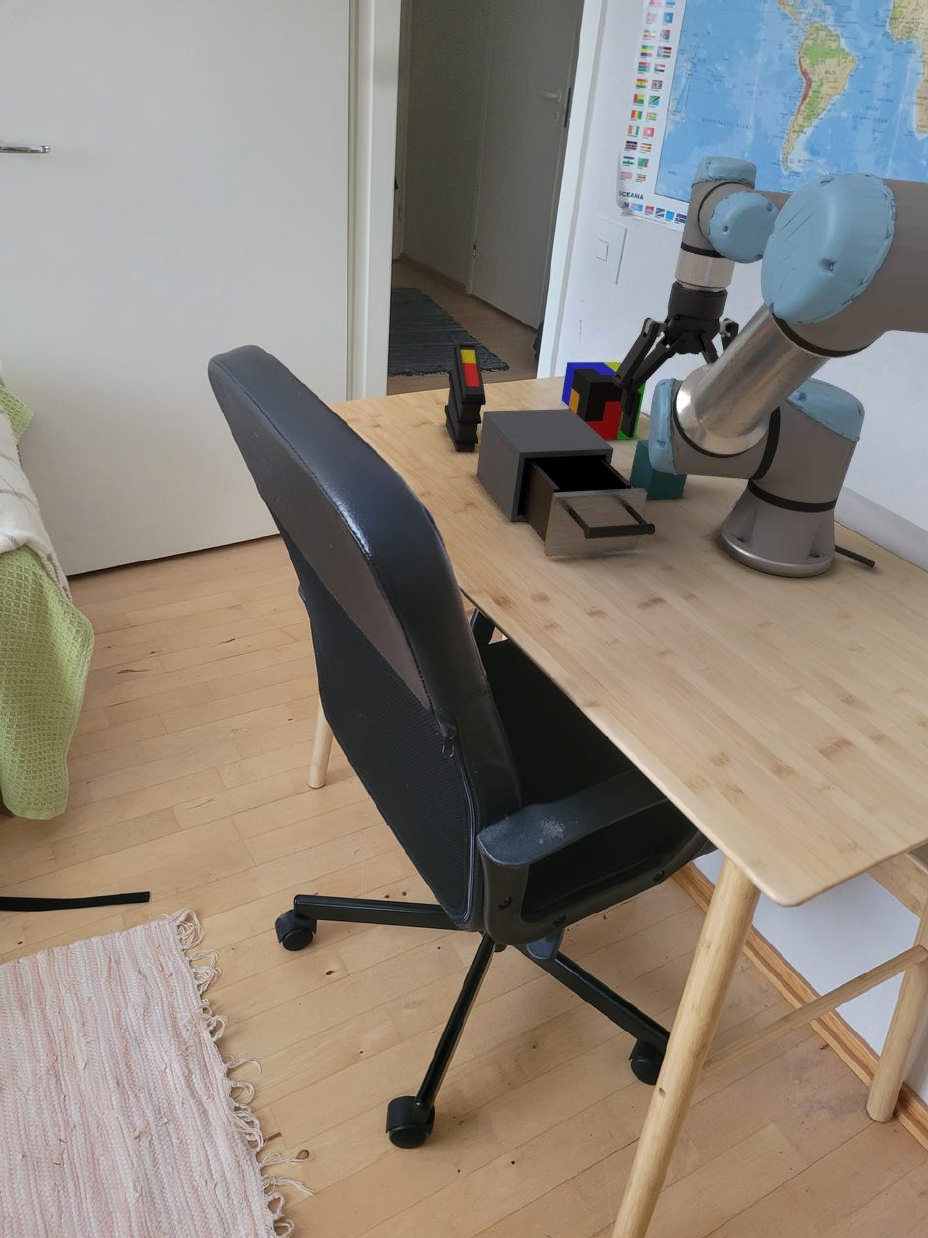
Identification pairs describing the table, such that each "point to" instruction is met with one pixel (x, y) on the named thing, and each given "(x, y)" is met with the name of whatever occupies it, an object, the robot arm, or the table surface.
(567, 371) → the puzzle toy
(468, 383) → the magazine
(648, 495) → the block
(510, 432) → the cabinet
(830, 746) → the table surface
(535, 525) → the drawer
